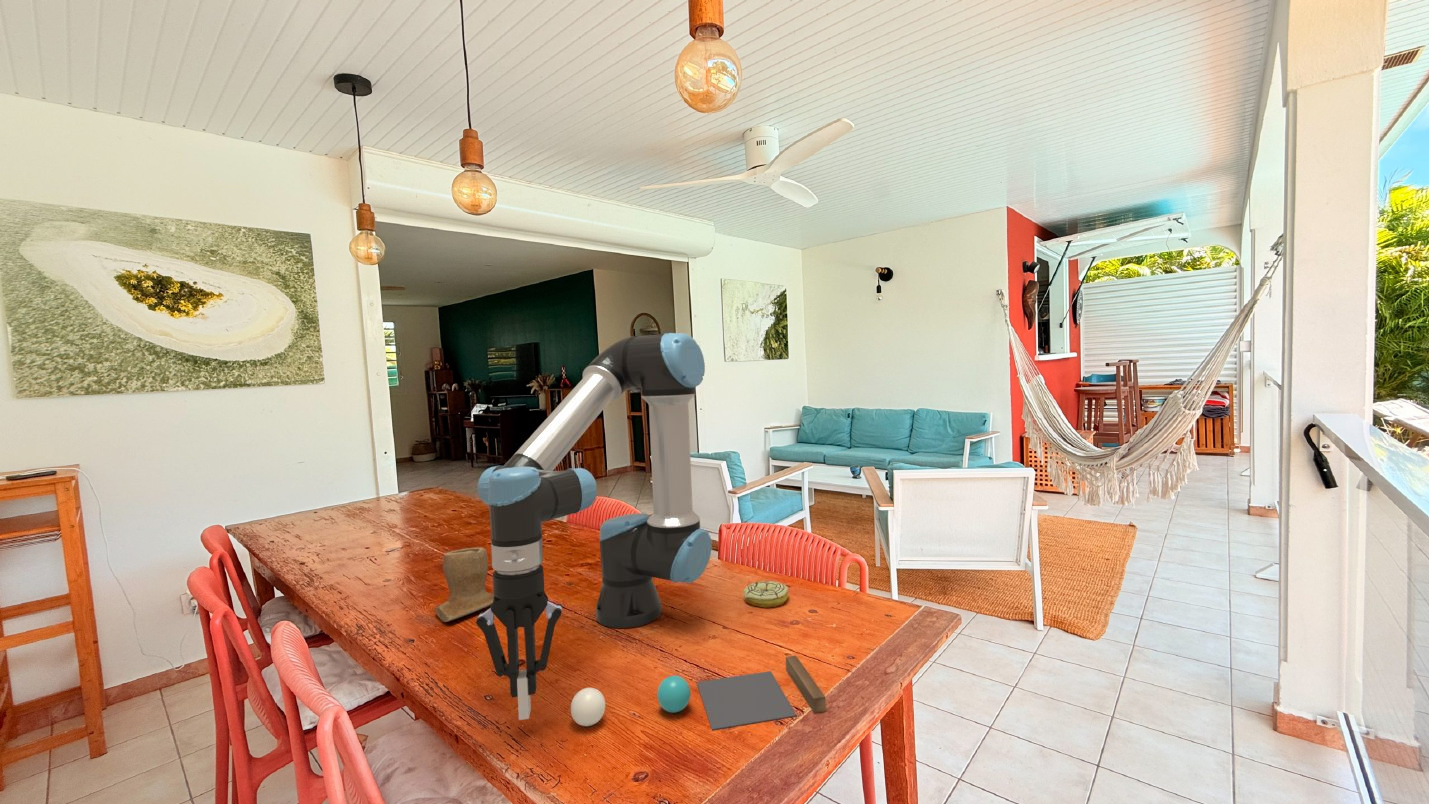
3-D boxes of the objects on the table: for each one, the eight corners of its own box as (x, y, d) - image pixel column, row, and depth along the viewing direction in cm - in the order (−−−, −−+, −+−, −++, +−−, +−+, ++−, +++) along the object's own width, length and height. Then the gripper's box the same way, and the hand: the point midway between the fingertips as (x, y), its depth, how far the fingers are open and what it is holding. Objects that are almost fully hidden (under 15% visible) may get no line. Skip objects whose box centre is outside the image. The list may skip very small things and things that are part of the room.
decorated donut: (750, 591, 145) (750, 576, 145) (792, 595, 142) (791, 580, 142) (739, 607, 135) (738, 591, 135) (783, 612, 132) (782, 596, 132)
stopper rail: (814, 713, 92) (813, 698, 92) (786, 669, 106) (785, 656, 106) (825, 711, 93) (825, 696, 93) (796, 668, 106) (795, 655, 106)
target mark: (712, 730, 89) (712, 729, 89) (696, 683, 103) (696, 682, 103) (796, 716, 92) (796, 715, 92) (770, 672, 105) (770, 671, 105)
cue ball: (564, 729, 90) (562, 696, 90) (585, 710, 96) (583, 678, 95) (593, 737, 88) (591, 702, 88) (612, 716, 93) (611, 684, 93)
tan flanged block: (478, 595, 148) (475, 539, 148) (506, 604, 142) (503, 545, 141) (421, 617, 136) (417, 555, 135) (449, 628, 129) (445, 563, 128)
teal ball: (652, 715, 93) (650, 683, 93) (667, 697, 98) (666, 666, 98) (682, 722, 91) (680, 689, 91) (696, 703, 96) (695, 672, 96)
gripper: (468, 579, 84) (476, 735, 85) (559, 571, 86) (566, 722, 87) (478, 563, 91) (485, 707, 92) (562, 556, 94) (568, 695, 95)
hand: (524, 714), depth 90 cm, fingers closed
